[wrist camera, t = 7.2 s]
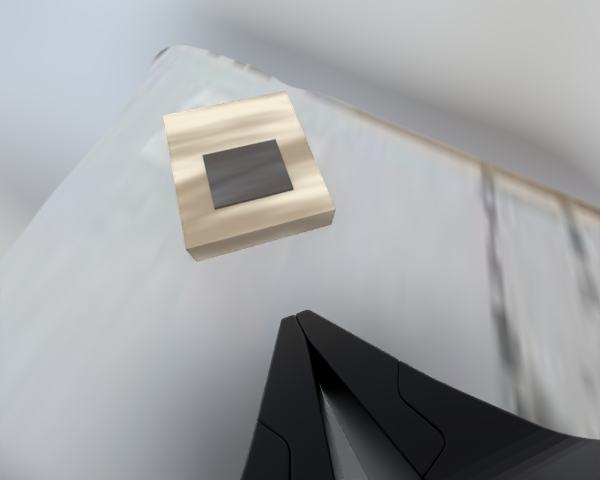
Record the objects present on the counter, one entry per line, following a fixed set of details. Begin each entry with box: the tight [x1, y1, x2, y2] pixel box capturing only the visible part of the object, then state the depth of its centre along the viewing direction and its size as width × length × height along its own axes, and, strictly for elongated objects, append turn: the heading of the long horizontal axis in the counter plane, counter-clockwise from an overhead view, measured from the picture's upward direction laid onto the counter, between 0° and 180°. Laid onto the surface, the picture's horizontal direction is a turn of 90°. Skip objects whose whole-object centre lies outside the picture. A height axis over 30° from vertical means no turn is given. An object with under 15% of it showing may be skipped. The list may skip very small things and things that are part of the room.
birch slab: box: [163, 91, 335, 261], centre depth 24 cm, size 3×11×13 cm
